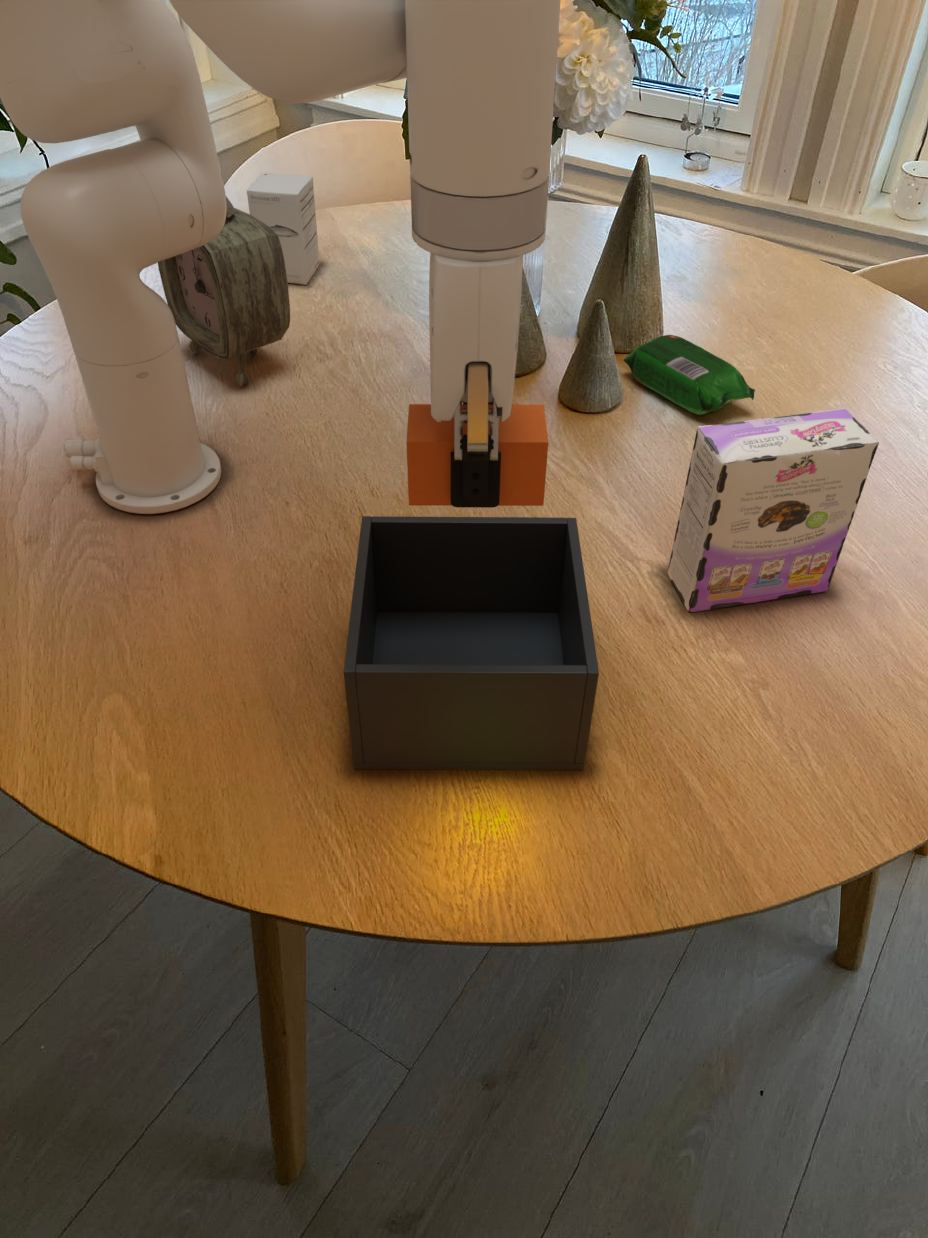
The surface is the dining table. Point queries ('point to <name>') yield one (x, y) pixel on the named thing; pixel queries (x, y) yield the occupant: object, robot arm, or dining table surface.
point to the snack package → (687, 374)
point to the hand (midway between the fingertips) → (474, 479)
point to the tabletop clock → (230, 290)
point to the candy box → (768, 507)
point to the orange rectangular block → (516, 442)
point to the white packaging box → (289, 220)
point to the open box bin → (470, 645)
